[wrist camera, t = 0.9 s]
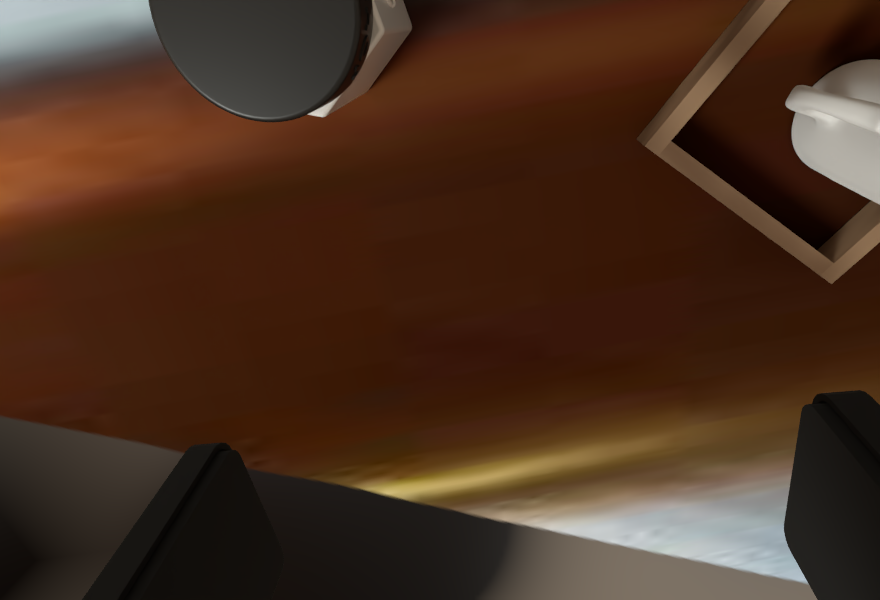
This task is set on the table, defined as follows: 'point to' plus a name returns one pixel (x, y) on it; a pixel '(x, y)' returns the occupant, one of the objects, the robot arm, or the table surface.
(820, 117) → the mug
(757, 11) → the corral
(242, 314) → the table surface
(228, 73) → the jar
